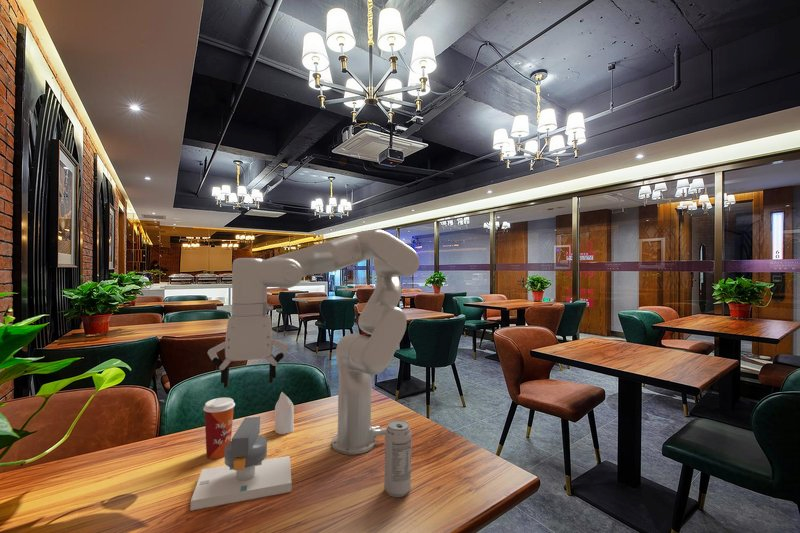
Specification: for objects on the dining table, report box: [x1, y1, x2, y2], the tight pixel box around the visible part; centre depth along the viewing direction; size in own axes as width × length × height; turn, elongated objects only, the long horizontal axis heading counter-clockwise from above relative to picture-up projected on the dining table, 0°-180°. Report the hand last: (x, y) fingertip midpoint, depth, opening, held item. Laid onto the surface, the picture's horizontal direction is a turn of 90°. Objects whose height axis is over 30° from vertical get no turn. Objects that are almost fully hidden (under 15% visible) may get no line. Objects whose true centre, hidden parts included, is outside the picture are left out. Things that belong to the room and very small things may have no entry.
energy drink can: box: [383, 419, 412, 498], centre depth 80 cm, size 6×6×15 cm
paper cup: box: [202, 397, 236, 460], centre depth 94 cm, size 8×8×14 cm
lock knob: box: [224, 416, 268, 471], centre depth 81 cm, size 12×9×7 cm
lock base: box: [189, 455, 293, 511], centre depth 81 cm, size 20×12×6 cm, turn 110°
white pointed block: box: [274, 391, 295, 435], centre depth 109 cm, size 6×12×6 cm
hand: (249, 383), depth 81 cm, fingers open, 9 cm apart
